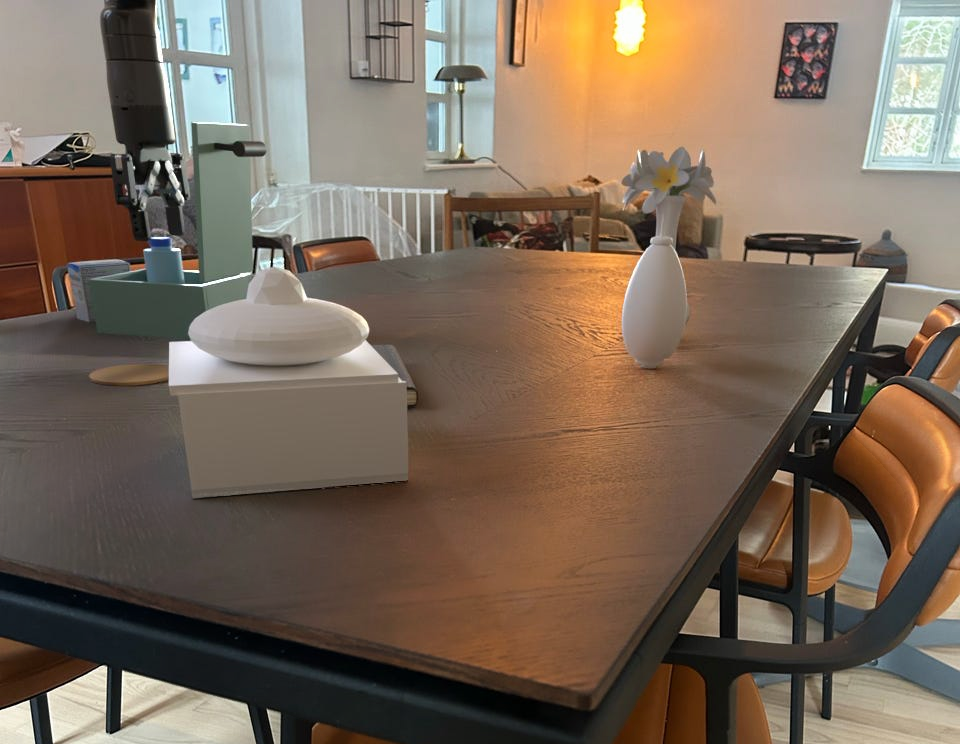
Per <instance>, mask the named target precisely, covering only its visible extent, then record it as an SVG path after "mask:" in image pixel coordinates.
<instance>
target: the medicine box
mask: <svg viewBox="0 0 960 744" xmlns="http://www.w3.org/2000/svg"><path fill="white" fill-rule="evenodd" d="M66 267H67V273H68V278H69V283H70V288H71V294H72V299H73V304H74V309H75V314H76V319H77V320H80V321H84V322H87V323H93V322H95V323H96V321H95V315H94V309H93V304H92V298H91V293H90V287H89V282H88V280H89V279H93V278H99V277H104V276H109V275H114V274H119V273H124V272H129V271H132V270H131V269H132V268H131V263H130V262H128V261H124V260H121V259H117V258H116V259H115V258H114V259H100V260H99V259H98V260H87V261H86V260H85V261H74V262H68V263H66Z"/></svg>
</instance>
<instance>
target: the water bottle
mask: <svg viewBox="0 0 960 744" xmlns="http://www.w3.org/2000/svg"><path fill="white" fill-rule="evenodd" d="M148 242H149V246H150V248H144V249H142V253H143V258H144V266H145V269H146V273H147V280H148V282H156V283H173V284H185V280H184V273H183V271H184V266H183V258H182V251H181V249H180V248H175V247H173V239H172V237H168V236H153V237H152V236H151V240H149V241H148Z"/></svg>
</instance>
